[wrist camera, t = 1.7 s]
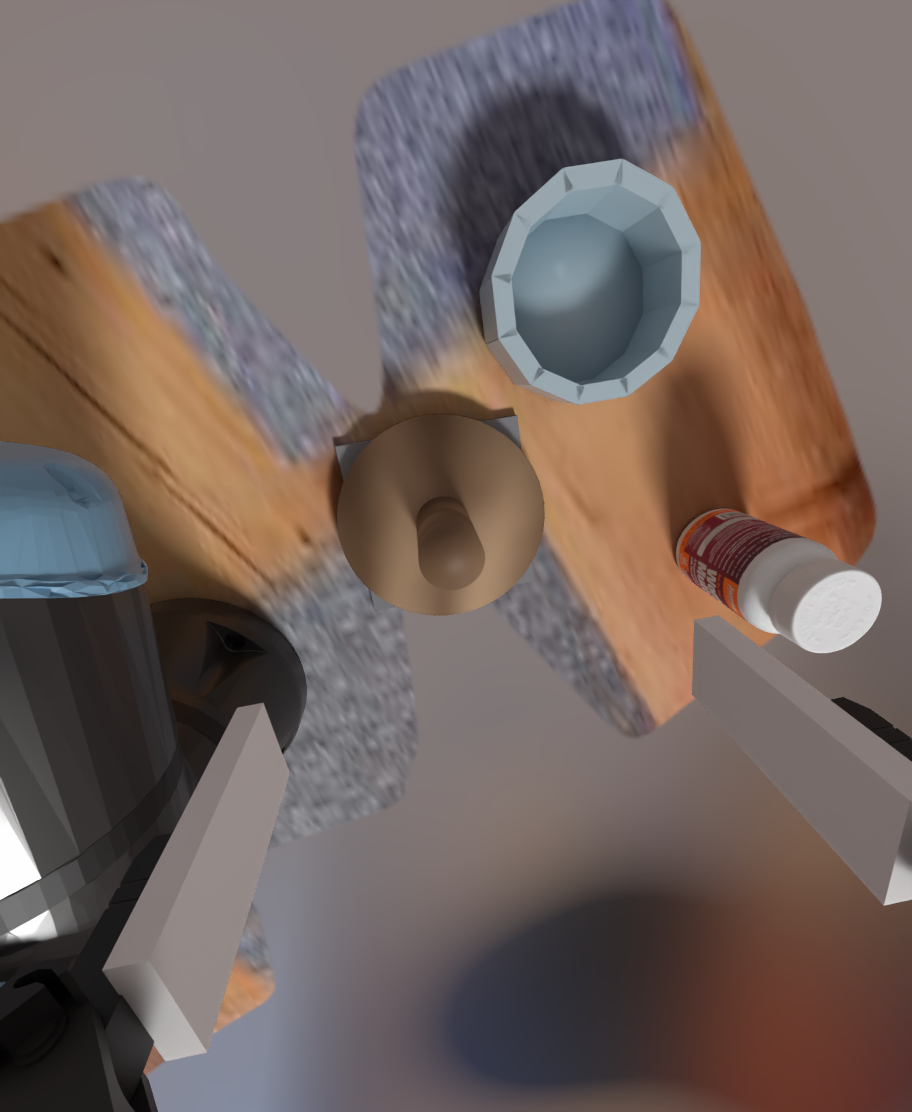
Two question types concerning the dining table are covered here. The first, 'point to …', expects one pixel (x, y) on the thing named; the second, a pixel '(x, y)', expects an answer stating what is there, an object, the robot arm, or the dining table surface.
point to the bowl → (592, 284)
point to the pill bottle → (779, 580)
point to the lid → (440, 514)
